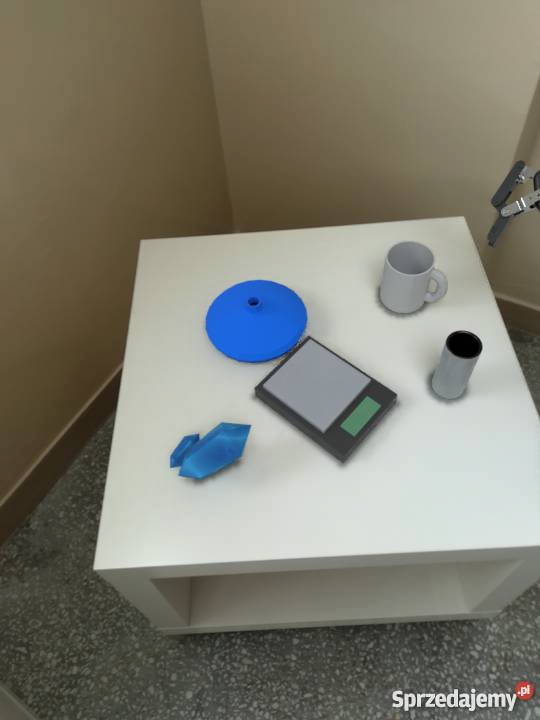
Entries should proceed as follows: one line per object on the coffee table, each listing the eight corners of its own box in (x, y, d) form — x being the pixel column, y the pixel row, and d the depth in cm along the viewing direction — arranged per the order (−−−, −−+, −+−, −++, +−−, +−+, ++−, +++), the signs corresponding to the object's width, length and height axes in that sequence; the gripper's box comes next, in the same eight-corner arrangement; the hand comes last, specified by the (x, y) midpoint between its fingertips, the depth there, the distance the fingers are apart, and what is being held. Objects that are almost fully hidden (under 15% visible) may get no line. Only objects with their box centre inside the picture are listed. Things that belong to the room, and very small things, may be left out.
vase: (326, 345, 81) (326, 317, 75) (232, 388, 78) (225, 362, 72) (279, 279, 89) (277, 248, 84) (193, 315, 86) (184, 286, 81)
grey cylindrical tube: (430, 371, 77) (445, 328, 69) (463, 373, 77) (481, 331, 68) (431, 398, 75) (446, 357, 66) (465, 400, 74) (484, 360, 66)
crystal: (148, 443, 66) (227, 389, 67) (177, 462, 74) (247, 413, 74) (172, 492, 63) (255, 434, 63) (200, 507, 70) (274, 455, 71)
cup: (389, 275, 88) (395, 235, 81) (448, 294, 85) (461, 254, 78) (372, 305, 85) (378, 266, 77) (433, 326, 82) (445, 288, 74)
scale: (395, 402, 75) (398, 391, 72) (343, 463, 70) (344, 453, 68) (308, 344, 82) (308, 331, 79) (255, 396, 77) (253, 384, 74)
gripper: (541, 103, 61) (465, 233, 66) (672, 148, 55) (576, 287, 60) (547, 124, 67) (476, 241, 73) (664, 166, 61) (578, 290, 67)
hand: (522, 261), depth 66 cm, fingers open, 8 cm apart
